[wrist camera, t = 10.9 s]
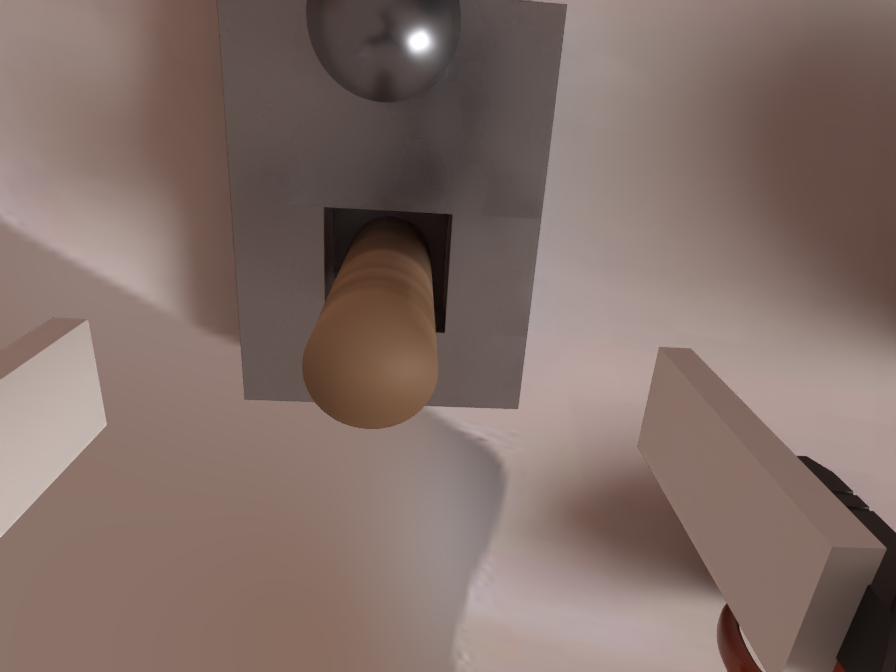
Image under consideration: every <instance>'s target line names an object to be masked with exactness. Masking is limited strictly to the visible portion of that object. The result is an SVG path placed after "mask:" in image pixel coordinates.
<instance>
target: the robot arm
mask: <svg viewBox="0 0 896 672" xmlns="http://www.w3.org/2000/svg"><path fill="white" fill-rule="evenodd" d="M106 425H107V423H106V418H105V412H104V406H103V401H102V395H101V390H100V384H99V379H98V373H97V367H96V362H95V356H94V351H93V345H92V339H91V334H90V328H89V323H88V319H75V318H54V317H53V318H51V319H50V320H48V321H46V322H45V323H43V324H41V325H40V326H38V327H37V328H35V329H33V330H32V331H30V332H29V333H27V334H25V335H24V336H22V337H21V338H19V339H18V340H16V341H14V342H13V343H11V344H9V345H8V346H6V347H5V348H3V349H2V350H0V537H1V536H2V535H3V534H4V533H5V532H6V531H7V530H8V529H9V528H10V527H11V526H12V525H13V524H14V523H15V522H16V520H17V519H18V518H19V517H20V516H21V515H22V514H23V513H24V512H25V511H26V510H27V509H28V508H29V507H30V506H31V505H32V503H34V502H35V500H36V499H37V498H38V497H39V496H40V495H41V494H42V493H43V492H44V491H45V490H46V489H47V488H48V487H49V486H50V484H51V483H52V482H53V481H54V480H55V479H56V478H57V477H58V476H59V475H60V474H61V473H62V472H63V471H64V469H66V468H67V466H68V465H69V464H70V463H71V462H72V461H73V460H74V459H75V458H76V457H77V456H78V455H79V454H80V453H81V451H83V450H84V448H85V447H86V446H87V445H88V444H89V443H90V442H91V441H92V440H93V439H94V438H95V437H96V436H97V435H98V433H100V432H101V430H102V429H103V428H104V427H105V426H106ZM638 448H639V450H640V452H641V453H642V455H643V457H644V459H645V460H646V462H647V464H648V466H649V467H650V469H651V471H652V473H653V474H654V476H655V478H656V480H657V481H658V483H659V485H660V487H661V488H662V490H663V492H664V494H665V495H666V497H667V499H668V501H669V502H670V504H671V506H672V508H673V509H674V511H675V513H676V515H677V516H678V518H679V520H680V522H681V523H682V525H683V527H684V529H685V531H686V532H687V534H688V536H689V538H690V539H691V541H692V543H693V545H694V546H695V548H696V550H697V552H698V553H699V555H700V557H701V559H702V560H703V562H704V564H705V566H706V567H707V569H708V571H709V573H710V574H711V576H712V578H713V580H714V581H715V583H716V585H717V587H718V588H719V590H720V592H721V594H722V595H723V597H724V599H725V601H726V602H727V604H728V606H729V608H730V609H731V611H732V613H733V615H734V616H735V618H736V620H737V622H738V623H739V625H740V627H741V629H742V630H743V632H744V634H745V636H746V637H747V639H748V641H749V643H750V644H751V646H752V648H753V650H754V651H755V653H756V655H757V657H758V658H759V660H760V662H761V664H762V665H763V667H764V669H765V671H766V672H833V669H834V667H835V665H836V663H837V660H838V662H839V663H840V665H841V666H842V668H843V669H844V670H845V672H896V533H895V532H894V531H893V530H892V529H891V528H890V527H889V526H888V525H887V524H886V523H885V522H884V521H883V520H882V519H881V518H880V517H879V516H878V515H877V514H876V513H875V512H874V511H870V510H869V506H867V505H866V504H865V503H864V502H863V501H862V500H861V499H860V498H859V497H858V496H857V495H853V491H852V490H851V489H850V488H849V487H848V486H847V485H846V484H845V483H844V482H843V481H842V480H841V479H840V478H839V477H838V476H836V475H835V474H834V473H833V472H832V471H830V470H828V469H827V468H825V467H823V466H822V465H820V464H818V463H817V462H815V461H813V460H812V459H810V458H809V457H807V456H796V455H795V454H794V453H793V452H792V451H791V450H790V449H789V448H788V447H787V446H786V445H785V444H784V443H783V442H782V441H781V440H780V439H779V438H778V437H777V436H776V435H775V434H774V433H773V432H772V431H771V430H770V429H769V428H768V427H767V426H766V425H765V424H764V423H763V422H762V421H761V420H760V419H759V418H758V417H757V416H756V415H755V414H754V413H753V411H752V410H751V409H750V408H749V407H748V406H747V405H746V404H745V403H744V402H743V401H742V400H741V399H740V398H739V397H738V396H737V395H736V394H735V393H734V392H733V391H732V390H731V389H730V388H729V387H728V386H727V385H726V384H725V383H724V382H723V381H722V380H721V379H720V378H719V377H718V376H717V375H716V374H715V373H714V372H713V371H712V370H711V369H710V368H709V367H708V366H707V365H706V364H705V363H704V361H703V360H702V359H701V358H700V357H699V356H698V355H697V354H696V353H695V352H694V351H693V350H692V349H690V348H669V347H659V350H658V354H657V359H656V364H655V368H654V373H653V377H652V382H651V386H650V391H649V396H648V400H647V405H646V409H645V414H644V418H643V423H642V427H641V432H640V437H639V441H638Z"/></svg>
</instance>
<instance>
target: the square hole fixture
mask: <svg viewBox="0 0 896 672" xmlns="http://www.w3.org/2000/svg"><path fill="white" fill-rule="evenodd" d="M217 7H218V22H219V36H220V51H221V65H222V80H223V94H224V109H225V123H226V138H227V152H228V167H229V181H230V196H231V210H232V225H233V239H234V254H235V268H236V283H237V297H238V312H239V326H240V341H241V355H242V368H243V369H242V370H243V384H244V399H245V400H274V401H275V400H276V401H302V402H315V401H314V400H313V399H312V397H311V396H310V394H309V392H308V390H307V388H306V385H305V382H304V378H303V373H302V359H303V354H304V350H305V347H306V344H307V342H308V340H309V337H310V335H311V333H312V331H313V329H314V326H315V324H316V322H317V320H318V317H319V315H320V313H321V311H322V308H323V306H324V304H325V302H326V300H327V297H328V295H329V293H330V291H331V288H332V286H333V284H334V208H350V209H368V210H386V211H404V212H422V213H439V214H448V228H447V243H446V259H445V274H444V290H443V306H442V309H434V315H435V329H436V344H437V358H438V377H437V383H436V386H435V389H434V391H433V393H432V395H431V397H430V399H429V400H428V402H427V403H426V404H425V406H445V407H474V408H503V409H518V405H519V397H520V389H521V381H522V372H523V364H524V356H525V348H526V339H527V331H528V323H529V315H530V306H531V298H532V290H533V282H534V273H535V265H536V257H537V249H538V240H539V232H540V224H541V216H542V207H543V199H544V191H545V183H546V175H547V166H548V158H549V150H550V142H551V133H552V125H553V117H554V109H555V100H556V92H557V84H558V76H559V67H560V59H561V51H562V43H563V34H564V26H565V18H566V10H567V4H556V3H543V2H531V1H518V0H217Z"/></svg>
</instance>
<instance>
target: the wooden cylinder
mask: <svg viewBox="0 0 896 672" xmlns="http://www.w3.org/2000/svg"><path fill="white" fill-rule="evenodd" d="M302 373H303V378H304V382H305V385H306V388H307V390H308V392H309V394H310V396H311V397H312V399H313V400H314V401H315V403H316V404H317V405H318V406H319V407H320V408H321V409H322V410H323V411H324V412H325V413H327V414H328V415H329V416H331V417H332V418H334V419H335V420H337V421H340V422H341V423H344V424H347V425H350V426H353V427H358V428H364V429H379V428H386V427H391V426H394V425H397V424H400V423H402V422H404V421H406V420H408V419H409V418H411V417H412V416H414V415H415V414H416V413H418V412H419V411H420V410H421V409H422V408H423V407H424V406H425V404H426V403H427V402H428V400H429V399H430V397H431V395H432V393H433V391H434V389H435V386H436V383H437V377H438V358H437V344H436V329H435V315H434V301H433V287H432V273H431V259H430V249H429V245H428V243H427V240H426V238H425V237H424V235H423V234H422V232H421V231H420V230H419V229H418V228H417V227H416V226H414V225H413V224H412V223H410V222H408V221H406V220H404V219H400V218H396V217H383V218H378V219H375V220H373V221H371V222H369V223H367V224H366V225H365V226H363V227H362V228H361V229H360V230H359V231H358V233H357V234H356V236H355V238H354V239H353V242H352V244H351V246H350V248H349V251H348V253H347V255H346V257H345V259H344V262H343V264H342V266H341V268H340V271H339V273H338V275H337V277H336V280H335V282H334V284H333V286H332V288H331V291H330V293H329V295H328V297H327V300H326V302H325V304H324V306H323V308H322V311H321V313H320V315H319V317H318V320H317V322H316V324H315V326H314V329H313V331H312V333H311V335H310V337H309V340H308V342H307V344H306V347H305V350H304V354H303V359H302Z"/></svg>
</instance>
